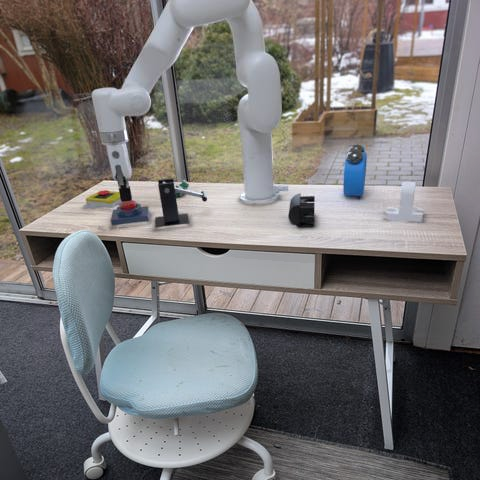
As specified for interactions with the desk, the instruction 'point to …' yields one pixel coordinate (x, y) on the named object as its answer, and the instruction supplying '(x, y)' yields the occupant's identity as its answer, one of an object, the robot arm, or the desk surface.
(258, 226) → the desk surface
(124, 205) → the button
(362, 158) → the alarm clock
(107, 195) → the emergency button
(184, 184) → the gaming controller
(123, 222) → the button box
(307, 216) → the end cap
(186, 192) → the lever
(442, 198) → the desk surface
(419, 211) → the cable organizer
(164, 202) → the bracket
